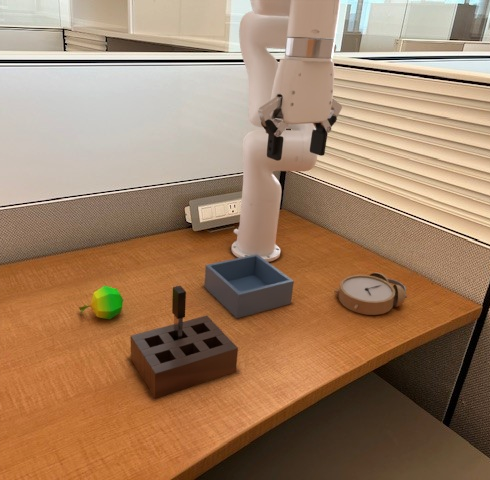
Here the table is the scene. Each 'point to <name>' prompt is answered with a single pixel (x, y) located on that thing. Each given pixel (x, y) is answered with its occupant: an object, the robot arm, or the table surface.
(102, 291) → the apple
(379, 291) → the alarm clock
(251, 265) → the bin
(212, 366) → the block
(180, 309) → the knife
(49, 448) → the table surface
